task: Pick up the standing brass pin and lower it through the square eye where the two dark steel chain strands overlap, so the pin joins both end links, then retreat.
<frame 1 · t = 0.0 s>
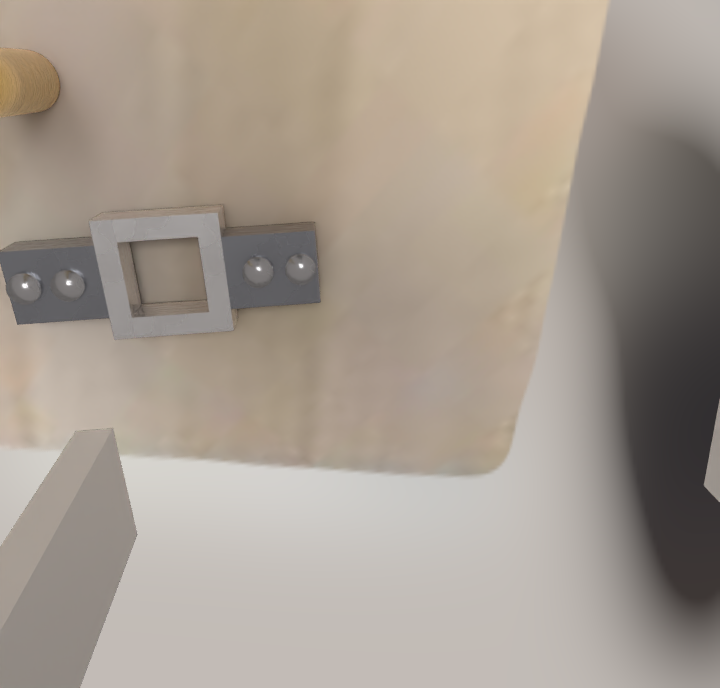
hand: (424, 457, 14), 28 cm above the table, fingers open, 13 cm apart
pin: (29, 81, 36), on the table
chain joint: (172, 266, 40), on the table
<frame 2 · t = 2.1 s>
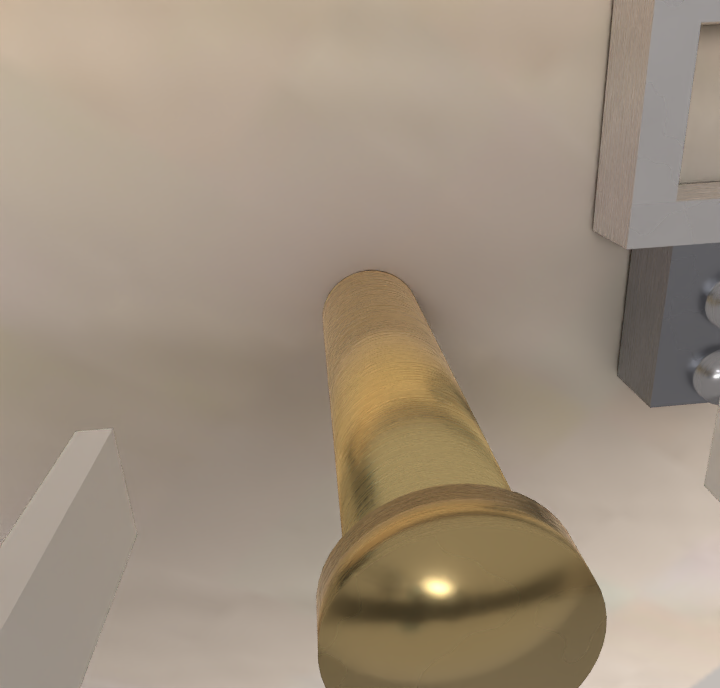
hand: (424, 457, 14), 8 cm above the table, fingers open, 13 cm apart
pin: (370, 316, 22), on the table
chain joint: (717, 106, 20), on the table
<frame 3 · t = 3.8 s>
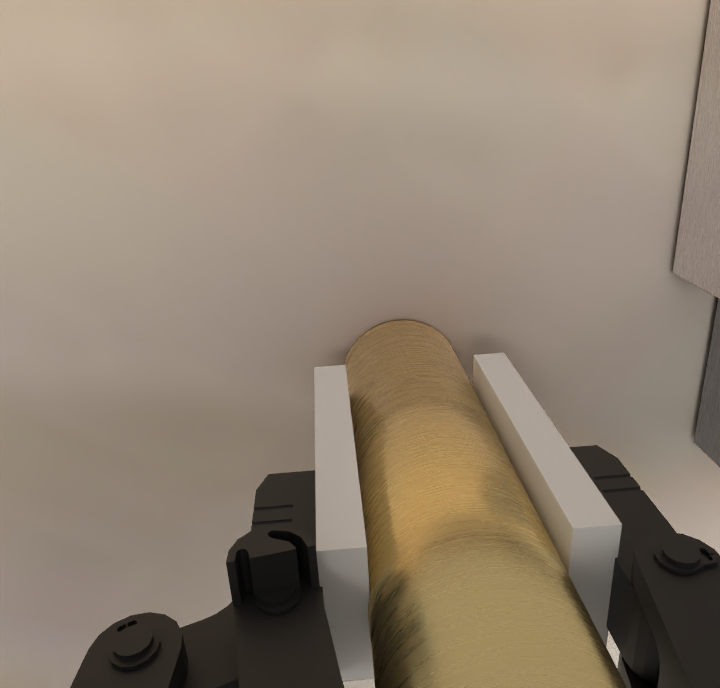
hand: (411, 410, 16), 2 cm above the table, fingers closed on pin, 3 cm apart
pin: (400, 374, 18), on the table, touching gripper
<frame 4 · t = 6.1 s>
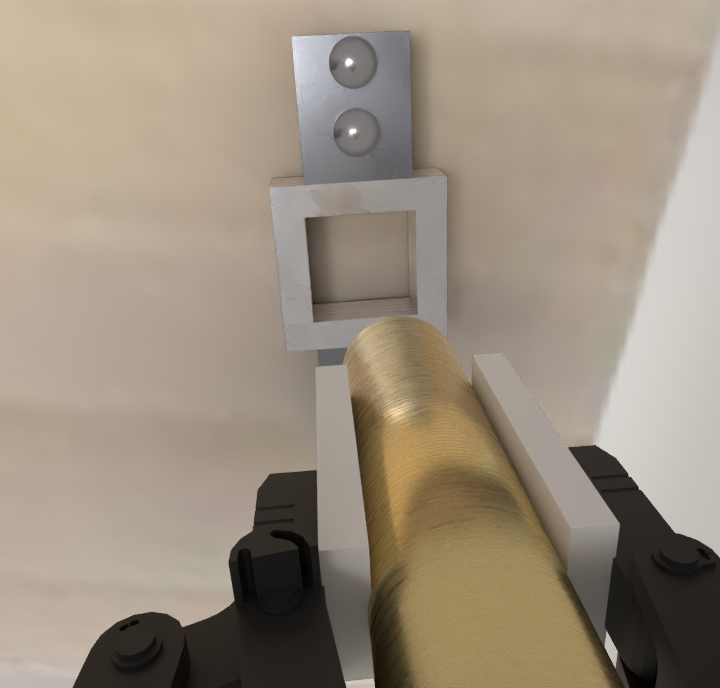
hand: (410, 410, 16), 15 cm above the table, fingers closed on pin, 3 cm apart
pin: (398, 369, 18), point 12 cm above the table, touching gripper
chain joint: (358, 253, 30), on the table
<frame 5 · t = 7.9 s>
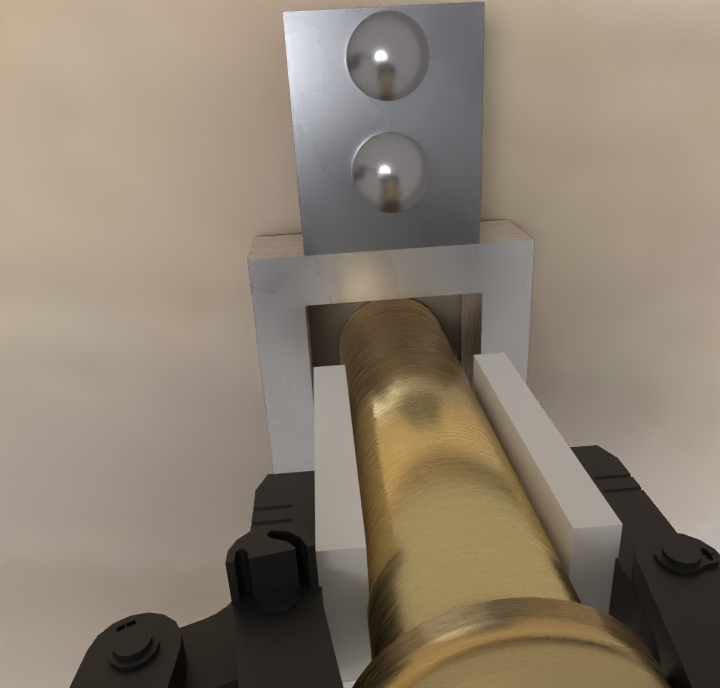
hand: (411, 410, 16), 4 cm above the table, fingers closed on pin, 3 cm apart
pin: (391, 346, 20), resting in chain joint, touching gripper
chain joint: (386, 345, 20), on the table
when the fingers open (4 cm above the table, at t = 8.6 s): pin stays where it is, resting in chain joint.
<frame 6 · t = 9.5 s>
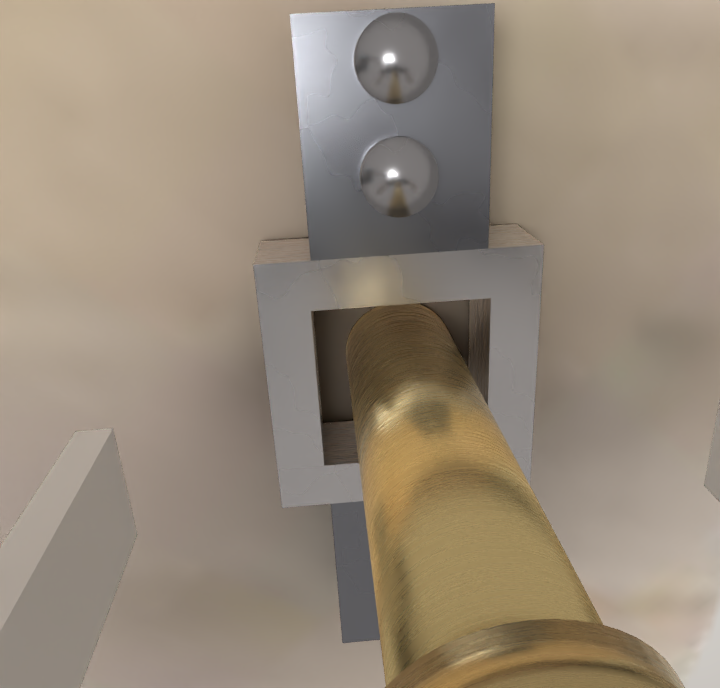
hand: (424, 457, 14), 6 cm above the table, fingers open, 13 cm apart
pin: (398, 351, 20), resting in chain joint
chain joint: (393, 350, 20), on the table
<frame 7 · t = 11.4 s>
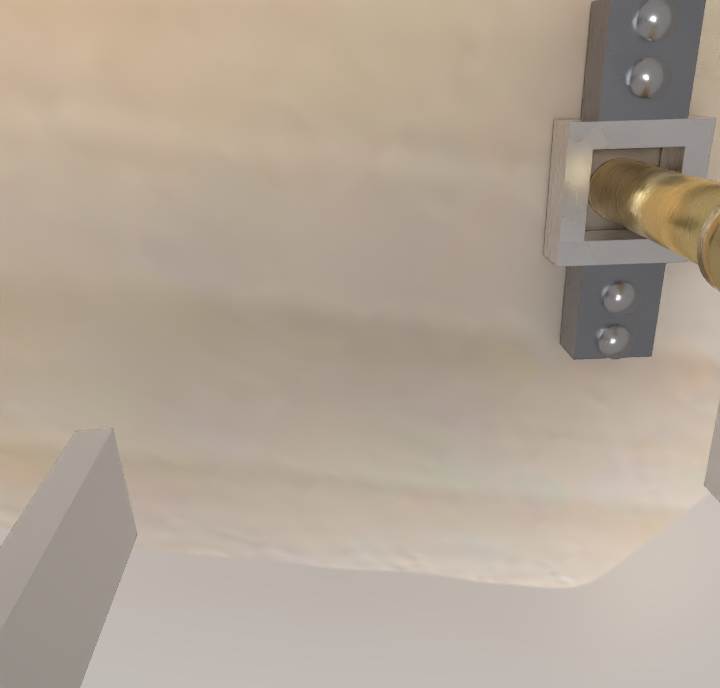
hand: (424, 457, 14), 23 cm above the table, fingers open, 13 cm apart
pin: (617, 188, 35), resting in chain joint
chain joint: (614, 187, 35), on the table
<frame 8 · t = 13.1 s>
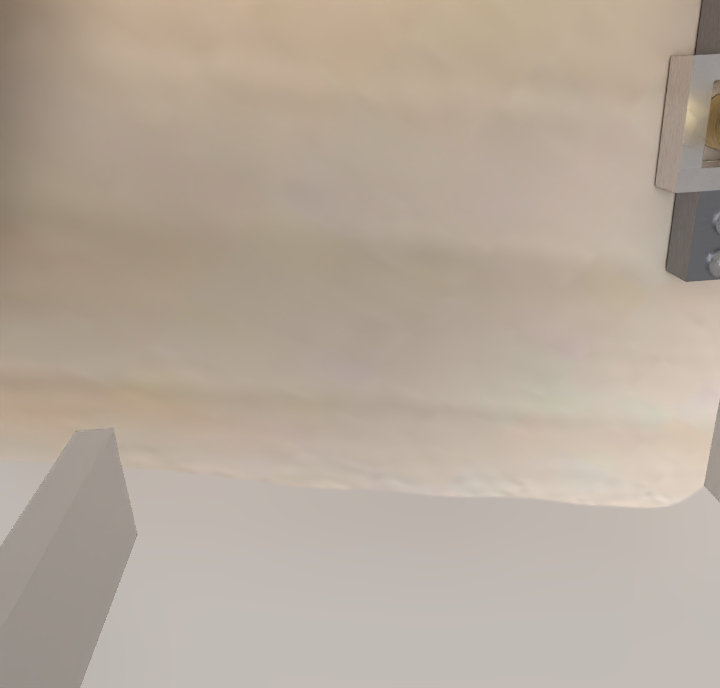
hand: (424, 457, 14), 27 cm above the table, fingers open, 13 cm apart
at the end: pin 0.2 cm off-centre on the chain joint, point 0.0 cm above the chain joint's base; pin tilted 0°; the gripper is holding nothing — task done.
